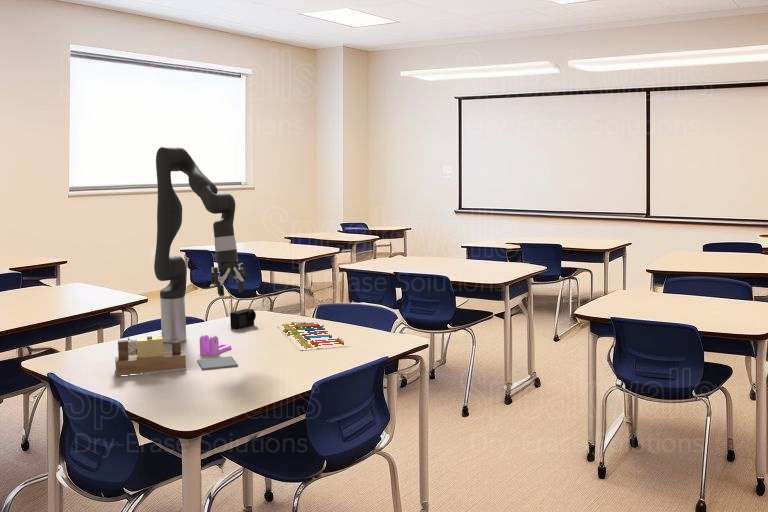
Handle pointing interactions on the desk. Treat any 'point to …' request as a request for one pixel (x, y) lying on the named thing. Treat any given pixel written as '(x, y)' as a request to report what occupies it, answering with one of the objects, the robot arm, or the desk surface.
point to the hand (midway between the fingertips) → (231, 294)
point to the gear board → (308, 328)
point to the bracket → (212, 345)
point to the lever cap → (150, 347)
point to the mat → (217, 363)
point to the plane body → (149, 361)
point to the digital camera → (242, 318)
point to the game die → (132, 347)
